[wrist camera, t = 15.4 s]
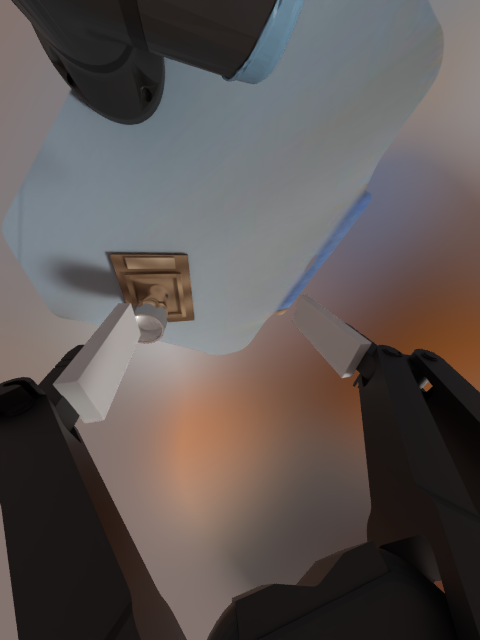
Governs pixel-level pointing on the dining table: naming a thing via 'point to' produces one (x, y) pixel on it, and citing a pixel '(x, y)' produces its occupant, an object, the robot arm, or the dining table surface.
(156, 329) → the beer glass
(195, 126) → the dining table surface
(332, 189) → the dining table surface
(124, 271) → the tray
